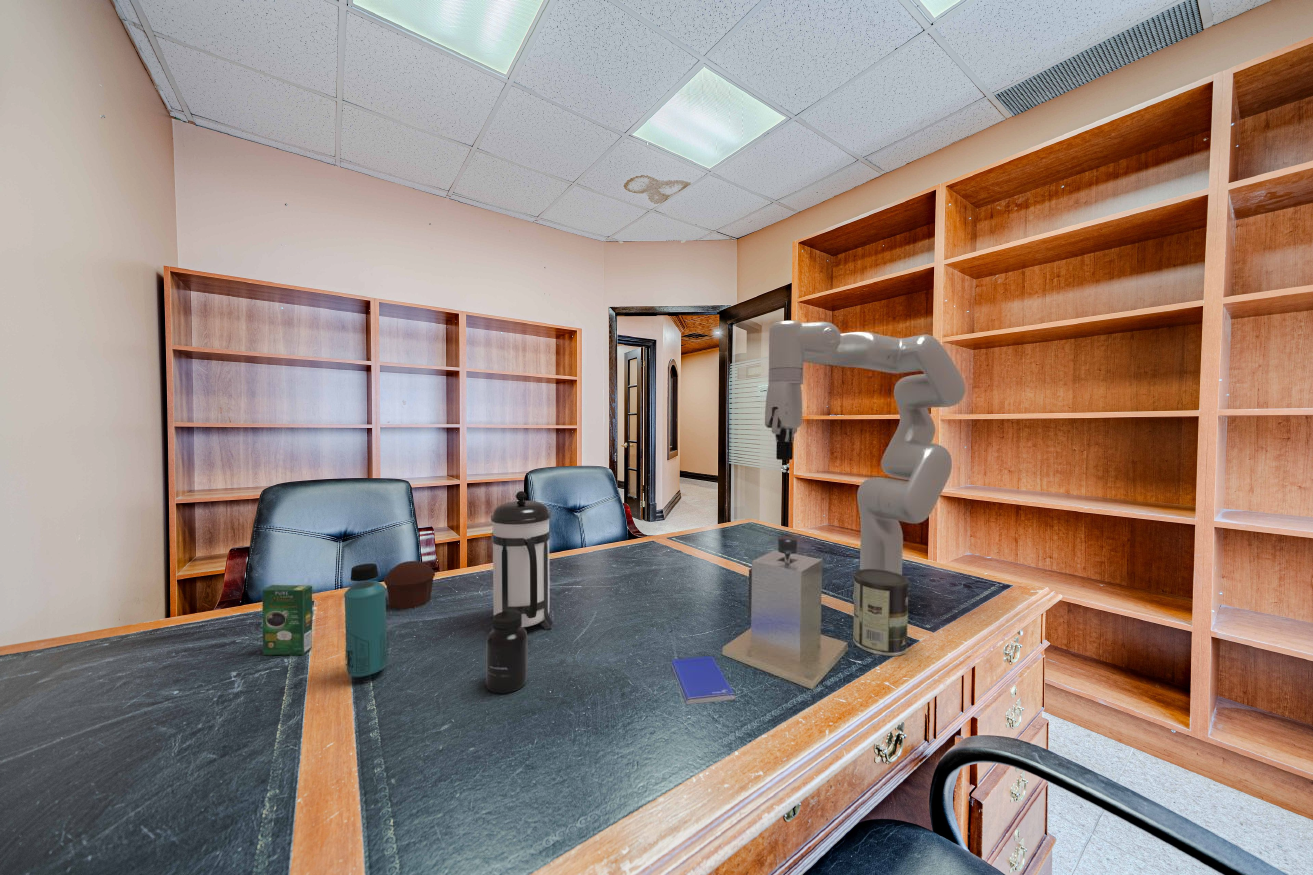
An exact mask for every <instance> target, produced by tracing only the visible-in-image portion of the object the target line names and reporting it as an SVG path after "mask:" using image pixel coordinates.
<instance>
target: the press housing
mask: <svg viewBox="0 0 1313 875" xmlns="http://www.w3.org/2000/svg"><path fill="white" fill-rule="evenodd" d="M822 580H823V559H822V558H819V557H818V558H816V557H811V556H807V555H803V554H802V555H801V554H797V553H795V554H790V563H787V562H785V553H781V552H779V551H778V549H774V550H772V551H769V552H768V553H766V554H764V555H761V556H760V557H758V558H755V559H754V560H752V561H751V568H750V569H748V605H747V606H748V609H747V610H748V612H747V613H748V615H747V616H748V618H750V626H751V627H750V628H749V629H746V631H744V632H742V633H741V634H740V635H738V636H737V637H735V638H734V639H732V640H731V641H729V642H728V643H727V644H725V645H723V646H722V655H723V656H725V657H727V658H730V659H733V660H734V661H737V662H740V663H742V664H746V665H748V666H750V667H752V668H755V669H758V670H760V671H763V672H766V673H769V674H771V675H772V676H773V675H774V676H775V677H779V678H781V679H783V680H786V681H789V682H791V683H794V684H797V685H800V686H801V687H804V688H807V689H810V690H813V689H814V688H816V686H817V685H818V684H819V683H820V682H821V681H822V679H823V678H825V676H826V675H828V673H829V672H830V670H831V669H833V667H834V666H835V665H836V664H837V663H838V662H839V661H840V660H841V659H842V657H844V655H845V654H846V653H847V652H848V651H849V650H848V649H849V643H848V642H846V641H843V640H840V639H836V638H833V637H829V636H826V635H823V634H822V590H823V588H822V586H823V585H822V584H823V581H822Z"/></svg>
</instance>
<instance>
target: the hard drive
mask: <svg viewBox="0 0 1313 875" xmlns="http://www.w3.org/2000/svg"><path fill="white" fill-rule="evenodd" d="M670 661H671V662H670V663H671V664H670V666H671V668H672V671H673V673H674V675H675V678H676V680H677V683H678V686H679V688H680V691H681V693H682V696H683V698H684V700H685V703H686V705H695V704H696V705H697V704H705V703H712V702H715V703H716V702H721V701H731V700H732V701H733V700H735V699H736V695H735V692H734V691H733V689H732V688H731V685H730V684H729V682H728V680H727V678H726V677H725V676H724V674H723V672H722V670H721V668H720V667H719V665H718V664H717V662H716V660H715V658H714V656H699V657H690V658H689V657H688V658H676V659H672V660H670Z"/></svg>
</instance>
